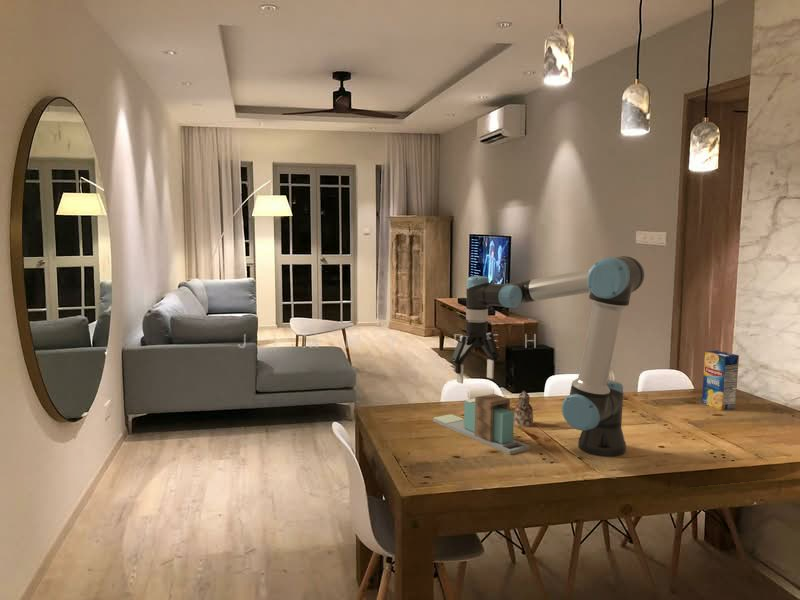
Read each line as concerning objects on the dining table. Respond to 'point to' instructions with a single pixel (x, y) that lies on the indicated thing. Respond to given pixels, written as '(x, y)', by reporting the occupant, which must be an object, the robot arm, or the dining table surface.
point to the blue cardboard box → (720, 379)
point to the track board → (458, 426)
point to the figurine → (523, 411)
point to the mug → (478, 392)
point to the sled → (501, 421)
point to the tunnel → (487, 414)
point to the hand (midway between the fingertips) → (475, 380)
